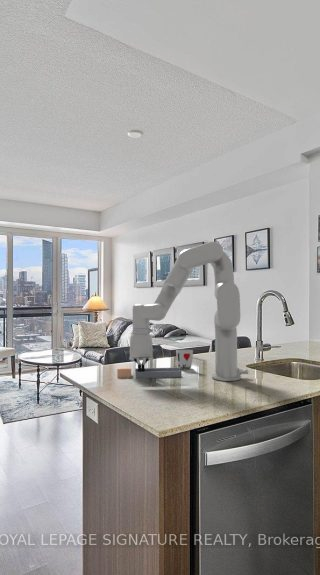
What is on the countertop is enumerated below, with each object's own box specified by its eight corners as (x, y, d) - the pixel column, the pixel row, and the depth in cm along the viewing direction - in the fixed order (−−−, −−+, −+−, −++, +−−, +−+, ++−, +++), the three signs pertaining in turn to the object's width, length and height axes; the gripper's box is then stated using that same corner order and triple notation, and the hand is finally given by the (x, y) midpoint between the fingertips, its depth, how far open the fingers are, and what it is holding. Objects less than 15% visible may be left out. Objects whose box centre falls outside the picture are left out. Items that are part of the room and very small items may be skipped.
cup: (174, 372, 180) (174, 351, 180) (178, 369, 188) (178, 349, 188) (191, 373, 177) (190, 352, 178) (194, 370, 185) (194, 349, 185)
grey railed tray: (179, 375, 173) (178, 367, 173) (181, 379, 164) (181, 371, 164) (135, 376, 171) (135, 368, 171) (135, 380, 162) (135, 372, 163)
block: (131, 366, 169) (117, 366, 169) (131, 368, 164) (117, 369, 164) (131, 377, 169) (117, 378, 169) (131, 380, 164) (117, 380, 164)
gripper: (157, 330, 172) (157, 371, 171) (124, 331, 171) (124, 371, 170) (158, 332, 164) (158, 374, 164) (124, 332, 163) (124, 375, 163)
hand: (141, 373), depth 167 cm, fingers closed
